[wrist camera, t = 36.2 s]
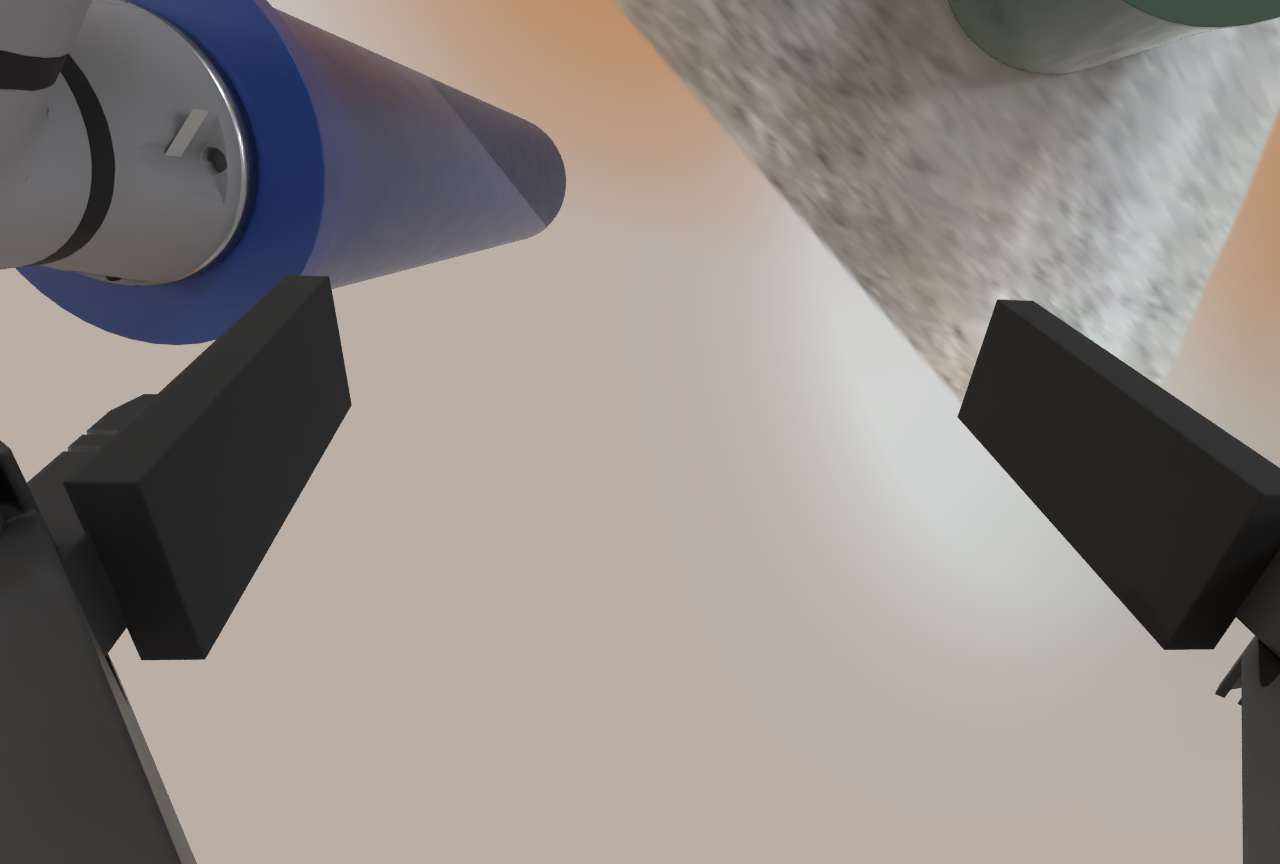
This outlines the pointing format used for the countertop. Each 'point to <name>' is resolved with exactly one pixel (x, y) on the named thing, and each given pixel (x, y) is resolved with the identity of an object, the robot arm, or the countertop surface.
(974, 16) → the saucepan
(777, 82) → the countertop surface
